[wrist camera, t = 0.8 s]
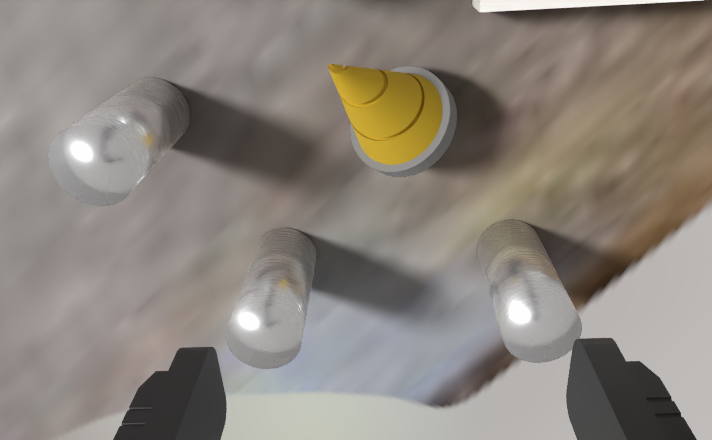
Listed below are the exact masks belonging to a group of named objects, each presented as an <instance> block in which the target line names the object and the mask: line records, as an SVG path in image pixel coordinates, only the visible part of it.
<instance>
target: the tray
mask: <svg viewBox="0 0 712 440" xmlns="http://www.w3.org/2000/svg"><path fill="white" fill-rule="evenodd" d="M683 1H702V0H472V6H473V7H474V8H476V9H477V10H478V11H479V12H496V11H515V10H534V9H552V8H571V7H590V6H608V5H627V4H646V3H665V2H683Z"/></svg>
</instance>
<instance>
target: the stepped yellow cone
mask: <svg viewBox="0 0 712 440" xmlns="http://www.w3.org/2000/svg"><path fill="white" fill-rule="evenodd" d="M328 68H329V71H330V73H331V76H332V78H333V80H334V83H335V85H336V88H337V90H338V92H339V95H340V97H341V100H342V102H343V105H344V107H345V110H346V112H347V114H348V117H349V119H350V122H351V123H350V136H351V140H352V144H353V147H354V149H355V151H356V153H357V155H358V156H359V157H360V158H361V160H362V161H363V162H365V163H366V164H367V165H368V166H370V167H372V168H373V169H375V170H377V171H379V172H381V173H383V174H385V175H388V176H393V177H407V176H412V175H415V174H418V173H420V172H422V171H424V170H426V169H428V168H429V167H431V166H432V165H433V164H435V163H436V162H437V161H438V160H439V159H440V158H441V157H442V155H443V154H444V153H445V151H446V150H447V149H448V147H449V145H450V143H451V141H452V139H453V136H454V133H455V130H456V124H457V108H456V104H455V101H454V98H453V96H452V94H451V93H450V91H449V89H448V88H447V87H446V86H445V85H444V84H443V83H442V82H441V81H440V80H439V79H438V78H437V77H436V76H435V75H434V74H432V73H431V72H429V71H428V70H425V69H422V68H419V67H412V66H407V67H399V68H396V69H392V70H389V71H386V70H377V69H369V68H361V67H352V66H345V67H344V68H342V65H335V64H329V65H328Z"/></svg>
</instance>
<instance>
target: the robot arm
mask: <svg viewBox="0 0 712 440" xmlns="http://www.w3.org/2000/svg"><path fill="white" fill-rule="evenodd" d="M566 397H567V409H568V414H569V418H570V421H571V424H572V426H573V429H574V432H575V435H576V437H577V440H696V438H695V436H694V435H693V433H692V431H691V429H690V428H689V426H688V424H687V423H686V421H685V419H684V418H683V417H681V413H680V411H679V409H678V408H677V406H676V404H675V403H674V401H672V400H671V396H670V394H669V393H668V391H667V389H666V388H665V386H664V384H663V383H662V381H661V379H660V378H659V377H658V376H657V375H656V374H654V373H653V372H652V371H651V370H649V369H648V368H647V367H646V366H645V365H644V364H642V363H641V362H640V361H630V362H626V361H625V359H624V357H623V355H622V353H621V352H620V350H619V348H618V346H617V344H616V343H615V341H614V340H613V339H612V338H592V339H576V340H575V341H574V344H573V349H572V356H571V363H570V370H569V378H568V385H567V394H566ZM129 408H130V409H129V411H127V413H126V415H125V417H124V419H123V421H122V426H120V427H119V429H118V431H117V433H116V435H115V437H114V439H113V440H220V439H221V436H222V432H223V429H224V425H225V420H226V396H225V391H224V386H223V382H222V377H221V372H220V367H219V363H218V358H217V354H216V351H215V349H214V348H213V347H192V348H180V349H179V350H178V351H177V353H176V355H175V357H174V360H173V362H172V364H171V366H170V368H169V371H156V372H155V373H154V374H153V375H152V376H151V377H150V378H148V379H147V380H146V381H145V382H144V383H143V384H142V385H141V386H140V387H139V388H138V390H137V392H136V394H135V396H134V399H133V401H132V403H131V405H130V407H129Z"/></svg>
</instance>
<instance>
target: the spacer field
mask: <svg viewBox="0 0 712 440" xmlns="http://www.w3.org/2000/svg"><path fill="white" fill-rule="evenodd" d="M189 121H190V110H189V106H188V103H187V101H186V99H185V97H184V96H183V94H182V93H181V92H180V91H179V89H177V88H176V87H175V86H174V85H172V84H171V83H169V82H167V81H165V80H163V79H159V78H143V79H140V80H137V81H135V82H134V83H132V84H131V85H129V86H128V87H126V88H125V89H123V90H122V91H120V92H119V93H117V94H116V95H114V96H113V97H111V98H110V99H108V100H107V101H105V102H104V103H102V104H101V105H100V106H98V107H97V108H95V109H94V110H92V111H91V112H89V113H88V114H86V115H85V116H83V117H82V118H80V119H79V120H77V121H76V122H74V123H73V124H71V125H70V126H68V127H67V128H65V129H64V130H62V131H61V132H60V133H58V134H57V135H56V137H55V138H54V139H53V141H52V143H51V145H50V148H49V152H48V161H49V167H50V170H51V173H52V175H53V177H54V179H55V180H56V182H57V183H58V185H59V186H60V187H61V188H62V189H63V190H64V191H65V192H66V193H67V194H68V195H70V196H71V197H73V198H74V199H76V200H78V201H80V202H82V203H85V204H88V205H93V206H109V205H114V204H116V203H119V202H120V201H122V200H123V199H125V198H126V197H127V196H128V195H129V194H130V193H131V192H132V190H133V189H134V188H135V187H136V186H137V185H138V184H139V183H140V182H141V181H142V179H143V178H144V177H145V176H146V175H147V174H148V173H149V172H150V171H151V169H152V168H153V167H154V166H155V165H156V164H157V163H158V162H159V161H160V159H161V158H162V157H163V156H164V155H165V154H166V153H167V152H168V151H169V149H170V148H171V147H172V146H173V145H174V144H175V143H176V142H177V141H178V139H179V138H180V137H181V136H182V135H183V134H184V133H185V131H186V130H187V128H188V125H189ZM477 254H478V258H479V261H480V265H481V268H482V271H483V275H484V278H485V281H486V285H487V288H488V291H489V295H490V298H491V301H492V305H493V308H494V311H495V315H496V318H497V321H498V325H499V328H500V331H501V335H502V338H503V341H504V344H505V346H506V348H507V349H508V351H509V352H510V353H511V354H512V355H514V356H515V357H517V358H519V359H521V360H524V361H528V362H535V363H540V362H548V361H552V360H555V359H558V358H560V357H562V356H564V355H565V354H567V353H568V352H569V351H570V350H572V349H573V344H574V341H575V340H576V339H579V338H580V336H581V331H582V324H581V320H580V317H579V315H578V313H577V311H576V309H575V307H574V305H573V303H572V301H571V299H570V297H569V295H568V294H567V292H566V290H565V288H564V286H563V284H562V282H561V280H560V278H559V276H558V274H557V272H556V270H555V268H554V266H553V264H552V262H551V260H550V258H549V256H548V254H547V252H546V250H545V248H544V246H543V244H542V242H541V240H540V238H539V237H538V235H537V233H536V231H535V230H534V229H533V228H532V227H531V226H530V225H528V224H527V223H525V222H522V221H519V220H504V221H500V222H497V223H495V224H493V225H491V226H490V227H489V228H487V229H486V230H485V231H484V232H483V234H482V235H481V237H480V239H479V241H478V244H477ZM316 258H317V253H316V249H315V246H314V244H313V242H312V241H311V240H310V239H309V238H308V237H307V236H306V235H305V234H303V233H302V232H300V231H298V230H295V229H291V228H277V229H274V230H271V231H269V232H267V233H266V234H265V235H264V236H262V238H261V239H260V240H259V242H258V245H257V247H256V250H255V253H254V255H253V258H252V261H251V263H250V266H249V269H248V272H247V274H246V277H245V280H244V282H243V285H242V288H241V291H240V293H239V296H238V299H237V301H236V304H235V307H234V310H233V312H232V315H231V318H230V321H229V323H228V326H227V329H226V342H227V345H228V347H229V349H230V351H231V352H232V353H233V354H234V356H235V357H237V358H238V359H239V360H240V361H242V362H243V363H245V364H247V365H250V366H253V367H256V368H262V369H272V368H278V367H281V366H284V365H286V364H288V363H289V362H291V361H292V360H293V359H294V358H295V357H296V356H297V354H298V353H299V350H300V348H301V343H302V337H303V332H304V326H305V321H306V315H307V309H308V304H309V298H310V293H311V287H312V281H313V276H314V270H315V265H316Z"/></svg>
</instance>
